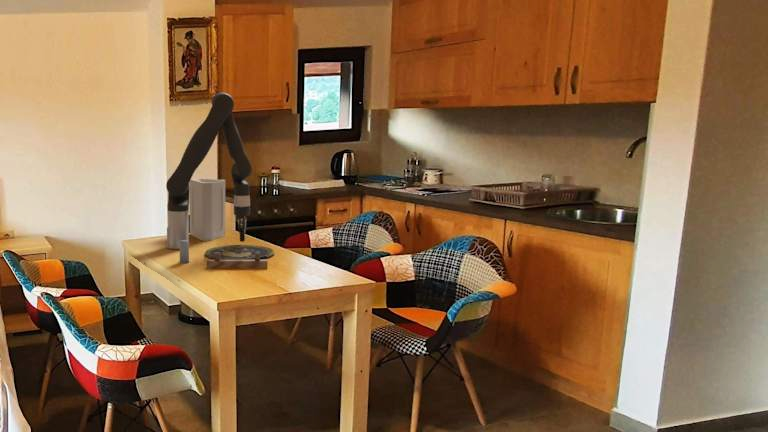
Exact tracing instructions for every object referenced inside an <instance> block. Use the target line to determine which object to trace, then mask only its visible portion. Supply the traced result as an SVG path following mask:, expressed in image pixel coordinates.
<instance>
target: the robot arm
mask: <svg viewBox="0 0 768 432" xmlns="http://www.w3.org/2000/svg"><path fill="white" fill-rule="evenodd" d="M234 107H235V100H234V99H233V96H232V95H230V94H228V93H226V92H222V91H221V92H217V93H215V94H214V95H213V97H212V99H211V107H210V110H209V113H207V116H206V118H205V119H204V121H203V122H202V123H201V124H200V126H198V128H197V129H196V131H194V133H193V135H192V136H191V139H190V140H189V142H188V144H187V146H186V149H185V150H184V152H183V154H182V157H181V159H180V161H179V164H178V165H177V167H176V169H175V170H174V172H173V173H172V174H171V176H170V177H169V178H168V180H167V181H166V185H165V186H166V190H167V196H168V197H167V198H168V199H167V205H166V206H167V227H166V248H167V249H172V250H180V241H181V240H188V241H189V242H190V194H189V182H190V180H191V179H192V177H193V175H194V173H195V172H196V170H197V169H198V167H199V166H200V165H201V164H202V163H203V161H204V160H205V158H206V156H207V155H208V154H209V152H210V150H211V148H212V147H213V145H214V142H215V140H216V139H217V136H218V135H219V134H218V133H219V131H220V130H221V128H222V133H223V136H224V140H225V145H226V148H227V151H228V154H229V156H230V158H231V159H232V160H233V162H234V163H232V165H231V170H230V172H231V178H232V182H233V187H234V189H233V191H234V192H233V215H235V216H237V217H239V218H237V229H238V233H239V241H240V242H245V241H246V228H247V216H250V215H251V197H250V183H248V182H247V179H246V178H248V177H250V176H252V172H253V171H252V170H253V168H252V164H251V161H250V160H249V157H248V155H247V154H246V152H245V148H244V145H243V141H242V138H241V136H240V135H241V134H240V132H239V130H238V127H237V125H236V123H235V119H234V114H233V109H234Z"/></svg>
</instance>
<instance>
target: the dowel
mask: <svg viewBox="0 0 768 432" xmlns="http://www.w3.org/2000/svg"><path fill="white" fill-rule="evenodd" d="M189 248H190V240H189V241H188V240H181V241H180V249H179V263H180V264H188V263H189V262H190V250H189Z"/></svg>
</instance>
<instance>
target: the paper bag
mask: <svg viewBox="0 0 768 432" xmlns="http://www.w3.org/2000/svg"><path fill="white" fill-rule="evenodd" d="M189 236H193V237H194V238H196V239H198V240H201V241H202V240H203V242H205V241H215V240H216V239H217V240H218V239H220V238H223V237H225V236H226V179H216V178H214V179H210V178H209V179H208V178H191V180H190V182H189Z"/></svg>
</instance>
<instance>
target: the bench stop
mask: <svg viewBox="0 0 768 432" xmlns="http://www.w3.org/2000/svg"><path fill="white" fill-rule="evenodd" d="M206 269H268V259H260V253H255V259H239V260H220V253H215V260H212V259H207V260H206Z"/></svg>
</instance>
